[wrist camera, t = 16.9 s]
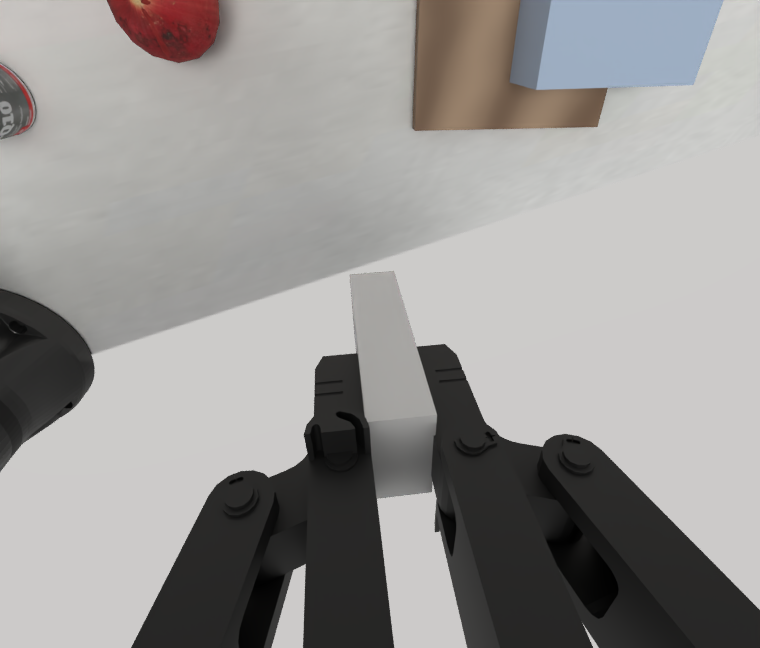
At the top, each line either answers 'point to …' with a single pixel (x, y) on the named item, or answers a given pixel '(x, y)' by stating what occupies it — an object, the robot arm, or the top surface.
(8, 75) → the pill bottle
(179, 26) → the red oval piece
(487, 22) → the board
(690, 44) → the block
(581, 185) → the top surface
